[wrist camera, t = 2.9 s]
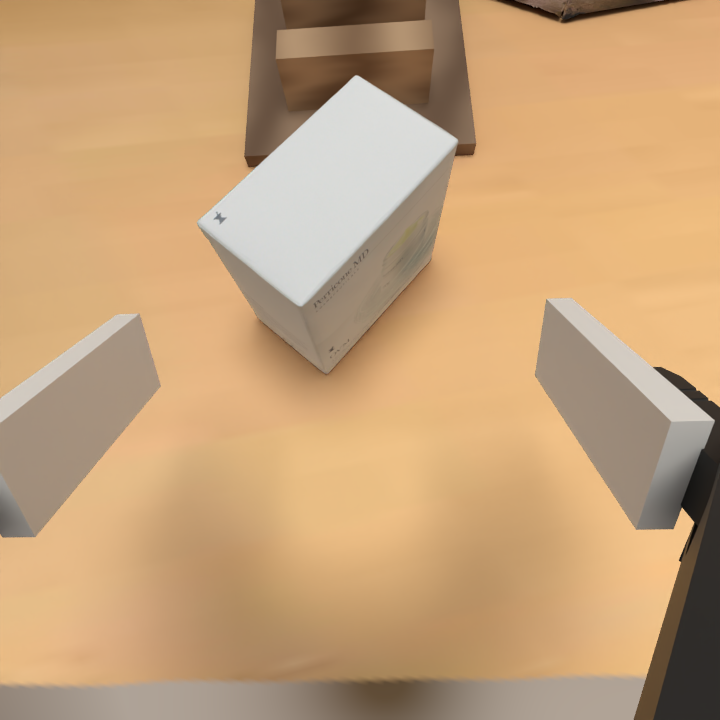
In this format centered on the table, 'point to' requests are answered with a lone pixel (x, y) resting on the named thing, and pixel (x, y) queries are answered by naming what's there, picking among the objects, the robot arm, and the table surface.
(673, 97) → the table surface
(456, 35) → the ridge board
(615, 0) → the wooden fragment
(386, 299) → the skincare box
